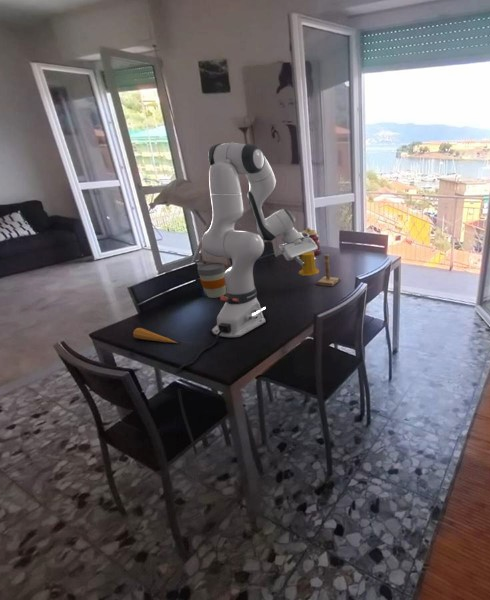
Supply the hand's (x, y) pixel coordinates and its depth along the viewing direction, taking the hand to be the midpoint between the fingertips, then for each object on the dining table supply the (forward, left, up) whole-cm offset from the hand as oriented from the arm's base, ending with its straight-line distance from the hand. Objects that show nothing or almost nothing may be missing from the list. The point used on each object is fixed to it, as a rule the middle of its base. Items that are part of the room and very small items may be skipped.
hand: (309, 262), depth 178 cm
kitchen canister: (+56, +30, -15) cm, 65 cm away
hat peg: (+11, -4, -15) cm, 19 cm away
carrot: (-65, +34, -15) cm, 75 cm away
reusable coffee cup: (-20, +44, -15) cm, 50 cm away
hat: (0, +1, -5) cm, 5 cm away
